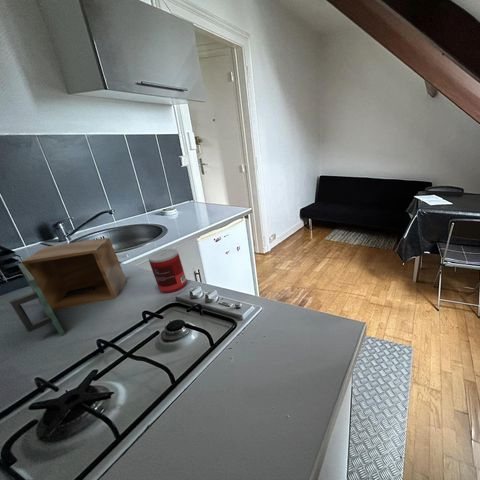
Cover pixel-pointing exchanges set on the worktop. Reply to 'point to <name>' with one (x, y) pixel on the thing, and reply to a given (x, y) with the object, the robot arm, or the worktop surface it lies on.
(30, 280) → the cupboard door
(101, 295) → the cupboard
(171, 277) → the canned food
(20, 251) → the worktop surface
